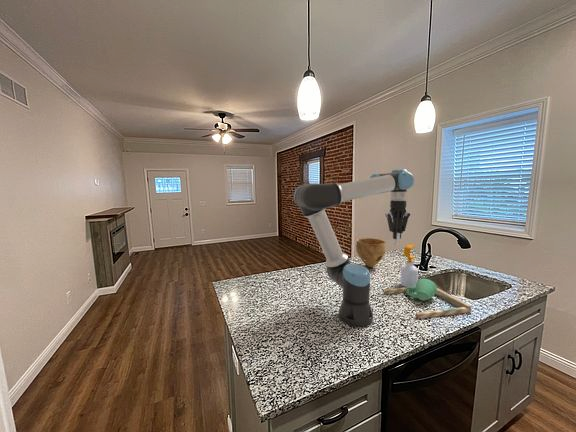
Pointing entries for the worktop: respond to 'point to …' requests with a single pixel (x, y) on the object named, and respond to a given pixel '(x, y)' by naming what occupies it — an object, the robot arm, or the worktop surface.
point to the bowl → (370, 250)
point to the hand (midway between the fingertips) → (396, 244)
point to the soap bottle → (409, 269)
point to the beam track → (447, 311)
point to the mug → (423, 289)
